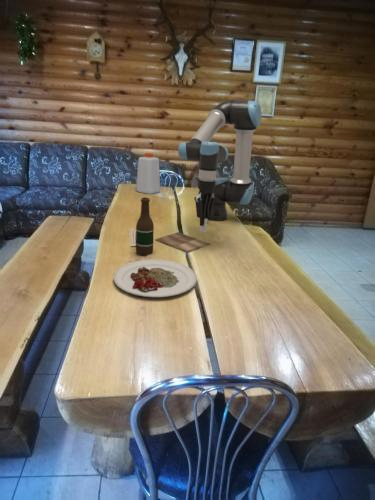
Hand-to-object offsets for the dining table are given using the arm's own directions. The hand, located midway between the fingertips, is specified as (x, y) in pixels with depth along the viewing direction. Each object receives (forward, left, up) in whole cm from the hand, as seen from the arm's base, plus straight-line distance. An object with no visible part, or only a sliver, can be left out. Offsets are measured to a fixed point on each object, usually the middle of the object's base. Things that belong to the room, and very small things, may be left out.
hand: (202, 231), depth 156 cm
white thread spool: (-59, -99, -8) cm, 115 cm away
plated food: (+38, +9, -8) cm, 40 cm away
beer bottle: (+24, -12, -8) cm, 28 cm away
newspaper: (+15, -28, -8) cm, 33 cm away
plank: (+3, -3, -7) cm, 9 cm away
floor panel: (+3, -13, -8) cm, 15 cm away
